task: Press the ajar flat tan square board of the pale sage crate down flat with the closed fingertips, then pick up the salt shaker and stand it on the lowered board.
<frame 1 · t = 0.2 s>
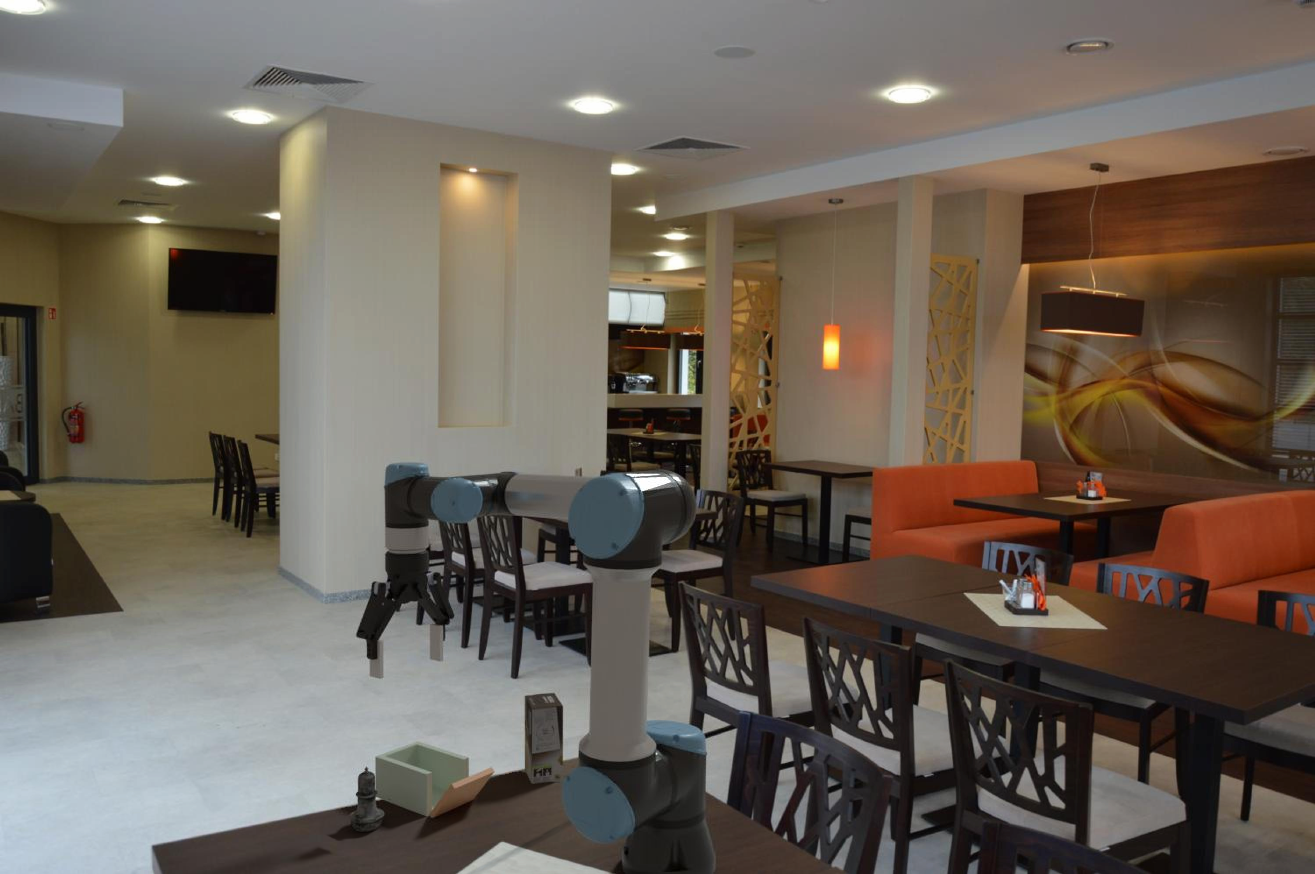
hand: (407, 668, 177), 27 cm above the table, fingers open, 13 cm apart
coffee box: (543, 781, 195), on the table
crate: (422, 804, 183), on the table
flat tan square board: (462, 792, 177), point 5 cm above the table, hinge at 40.0°
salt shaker: (366, 836, 171), on the table
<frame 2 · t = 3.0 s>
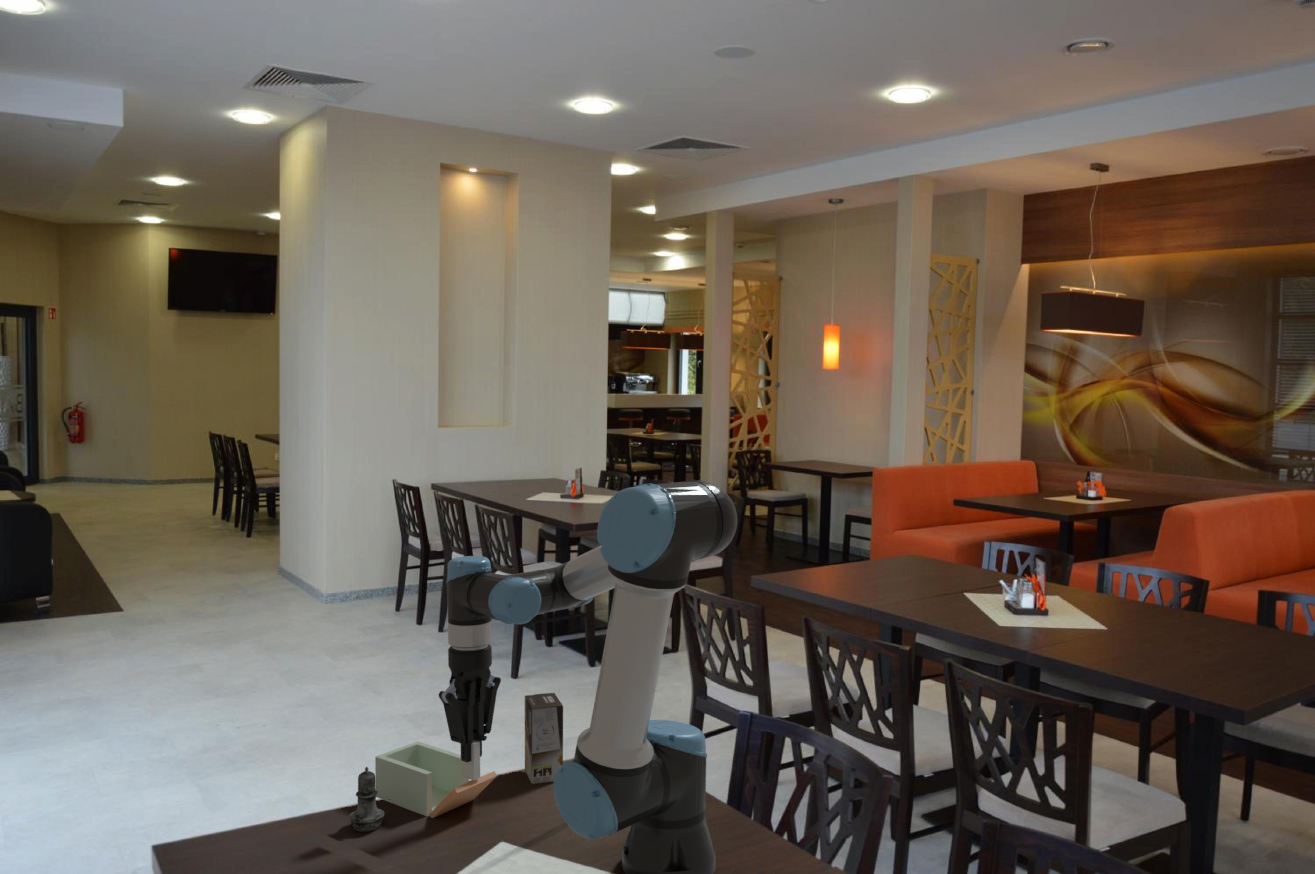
hand: (471, 777, 175), 8 cm above the table, fingers closed
flat tan square board: (463, 794, 177), point 5 cm above the table, hinge at 45.7°, touching gripper
everything else where it was.
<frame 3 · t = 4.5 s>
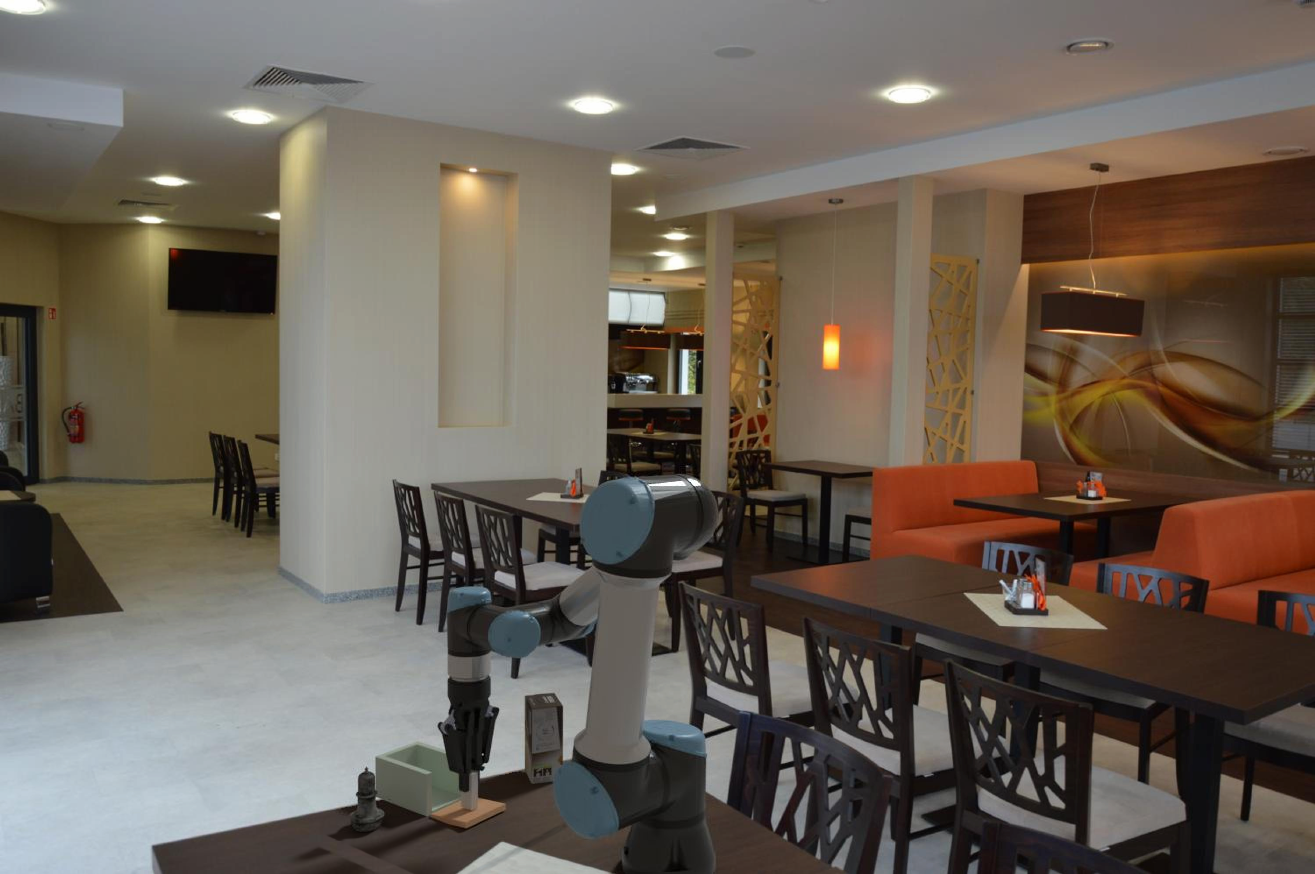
hand: (469, 807, 176), 3 cm above the table, fingers closed
flat tan square board: (468, 811, 176), point 2 cm above the table, hinge at 84.5°, touching gripper
everything else where it was.
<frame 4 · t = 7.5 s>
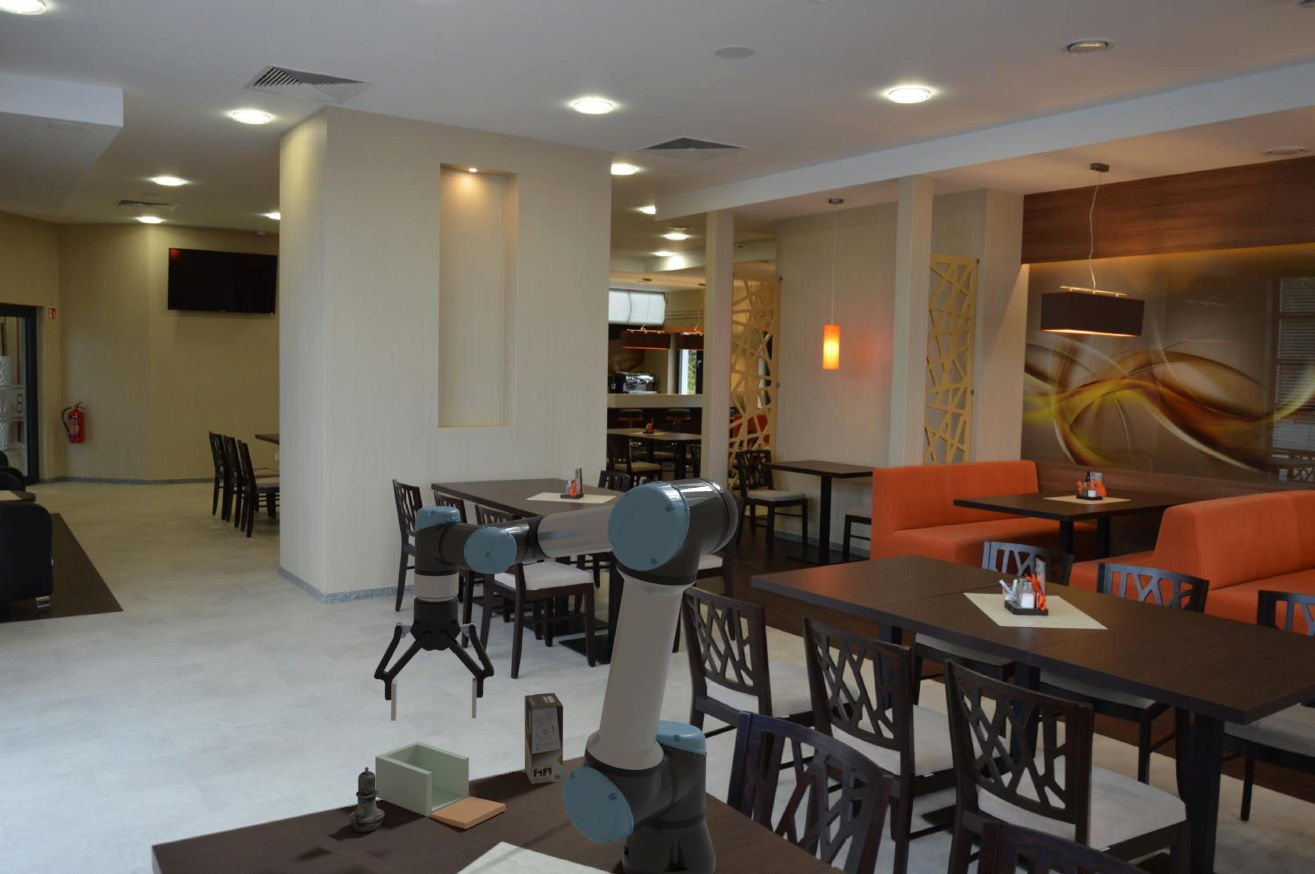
hand: (434, 717, 173), 20 cm above the table, fingers open, 13 cm apart
flat tan square board: (468, 811, 176), point 2 cm above the table, hinge at 85.2°
everything else where it was.
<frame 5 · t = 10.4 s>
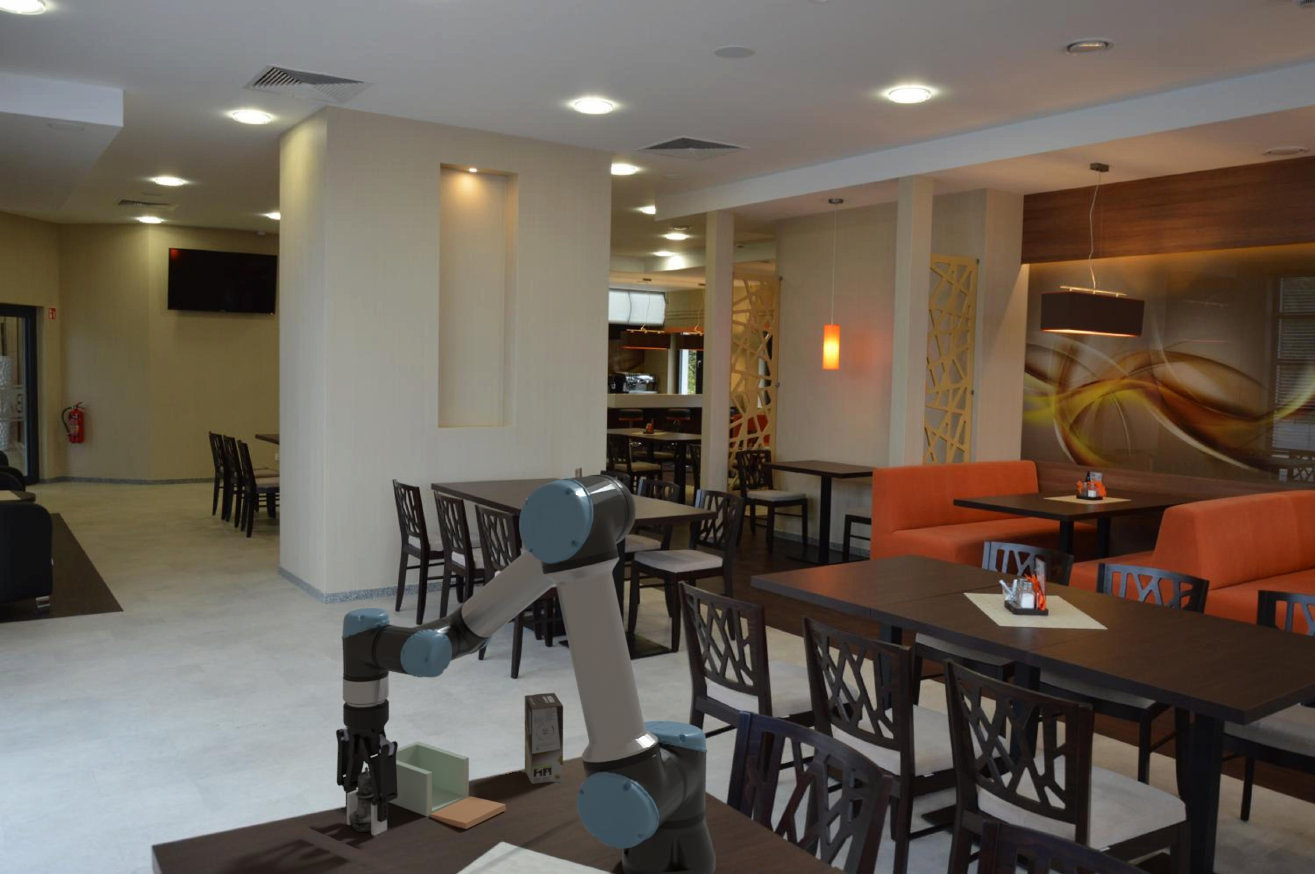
hand: (366, 832, 171), 0 cm above the table, fingers closed on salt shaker, 6 cm apart
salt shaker: (366, 836, 171), on the table, touching gripper
everything else where it was.
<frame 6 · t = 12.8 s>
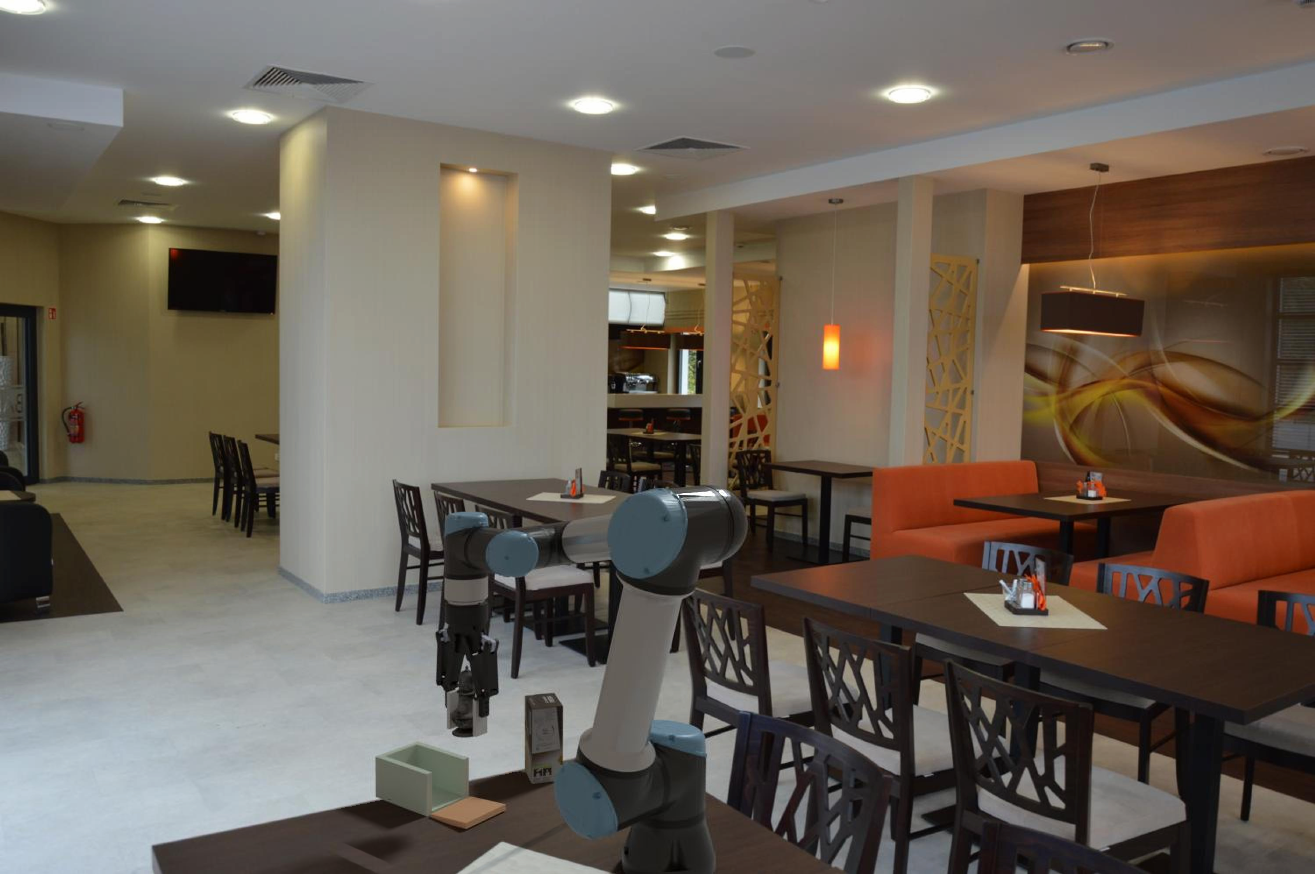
hand: (467, 730, 175), 17 cm above the table, fingers closed on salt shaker, 6 cm apart
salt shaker: (467, 733, 175), point 16 cm above the table, touching gripper
everything else where it was.
when the fingers open (4 cm above the table, at t = 15.4 s): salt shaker drops 2 cm, resting on flat tan square board.
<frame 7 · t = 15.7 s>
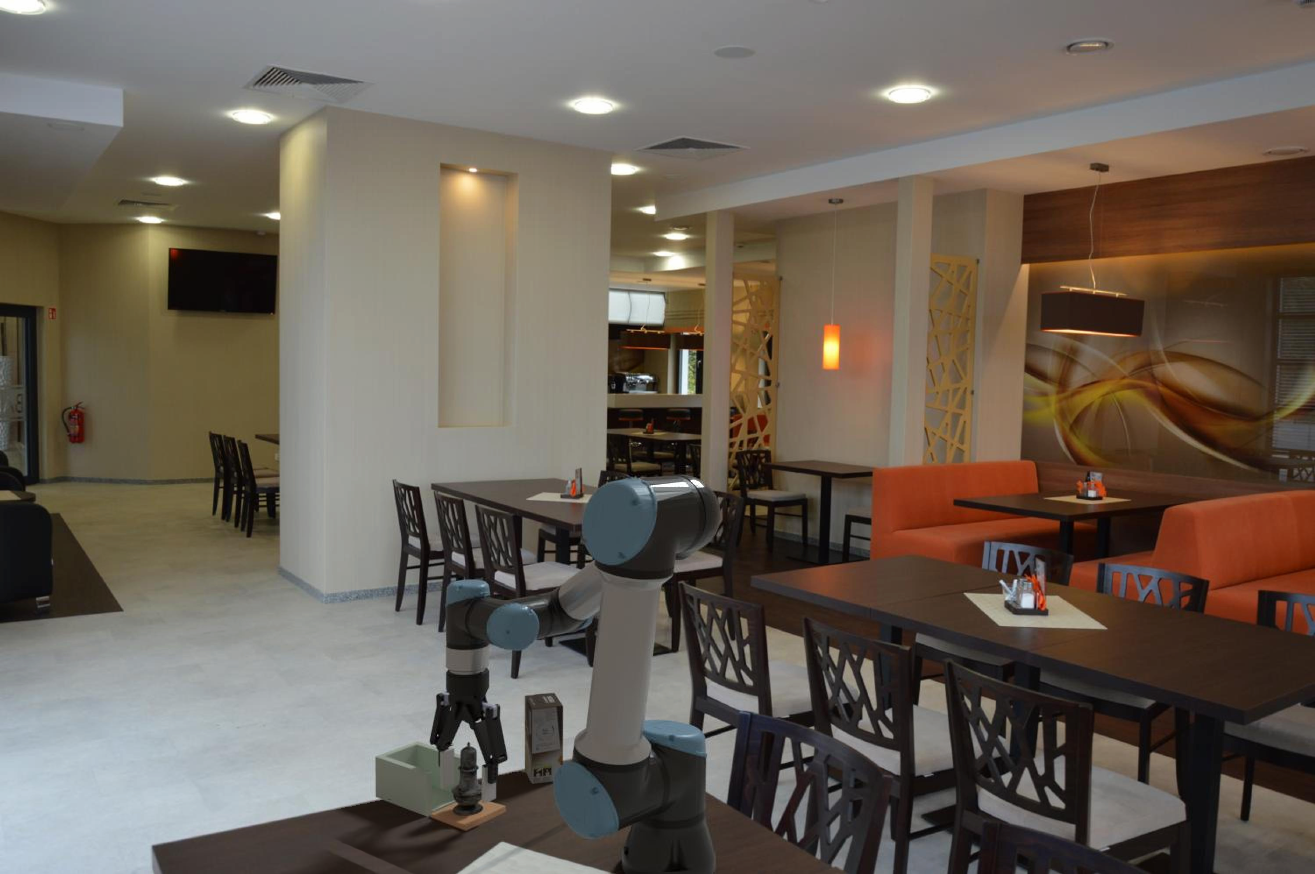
hand: (467, 792, 176), 5 cm above the table, fingers open, 10 cm apart
flat tan square board: (468, 812, 176), point 2 cm above the table, hinge at 87.1°, touching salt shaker
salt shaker: (468, 810, 176), point 2 cm above the table, touching flat tan square board
everything else where it was.
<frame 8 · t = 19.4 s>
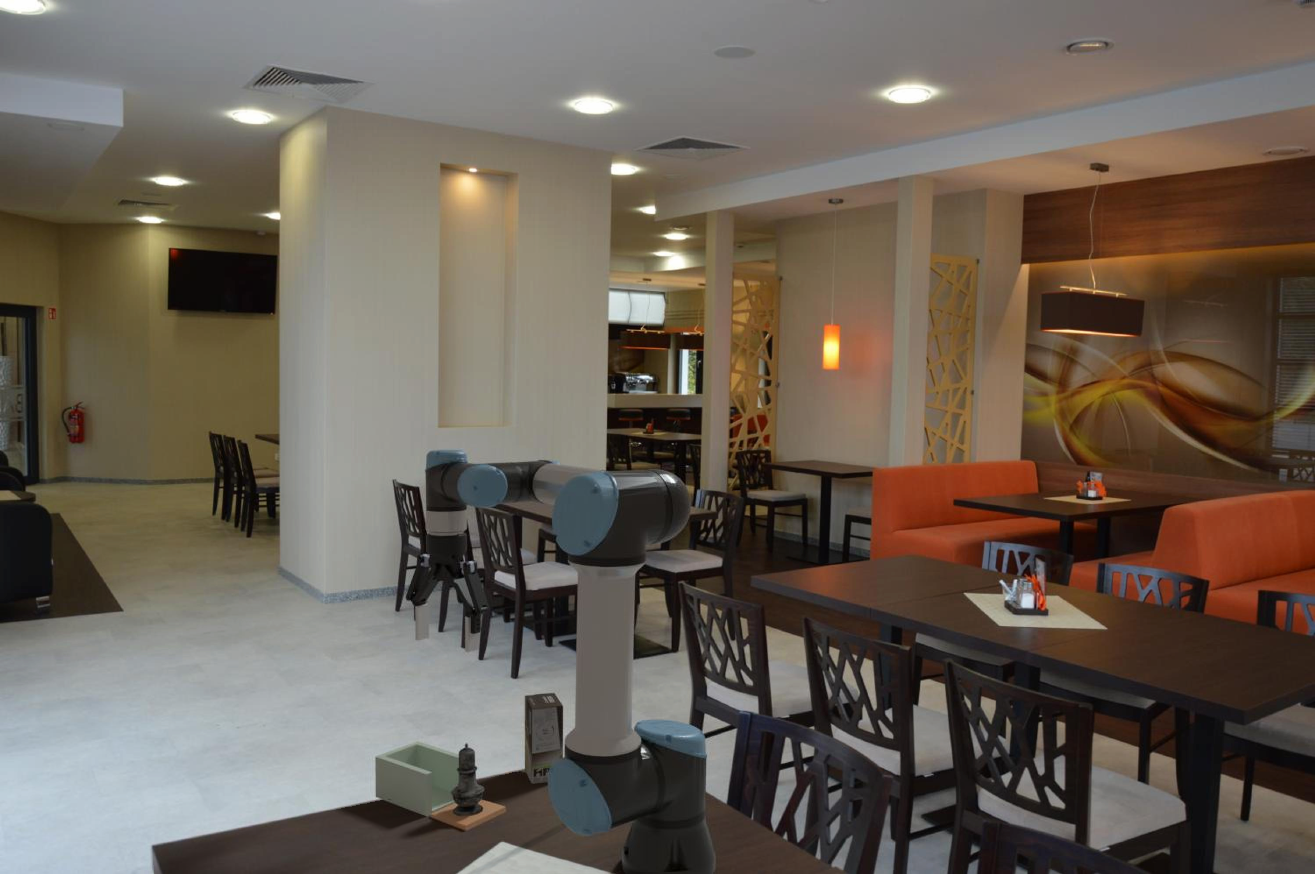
hand: (446, 644, 187), 29 cm above the table, fingers open, 13 cm apart
flat tan square board: (468, 813, 176), point 2 cm above the table, hinge at 87.8°, touching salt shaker
everything else where it was.
at the end: flat tan square board at +88° (first picture: +40°); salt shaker inside the target area (0.6 cm from its centre), point 2.0 cm above the table; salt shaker tilted 3° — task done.
